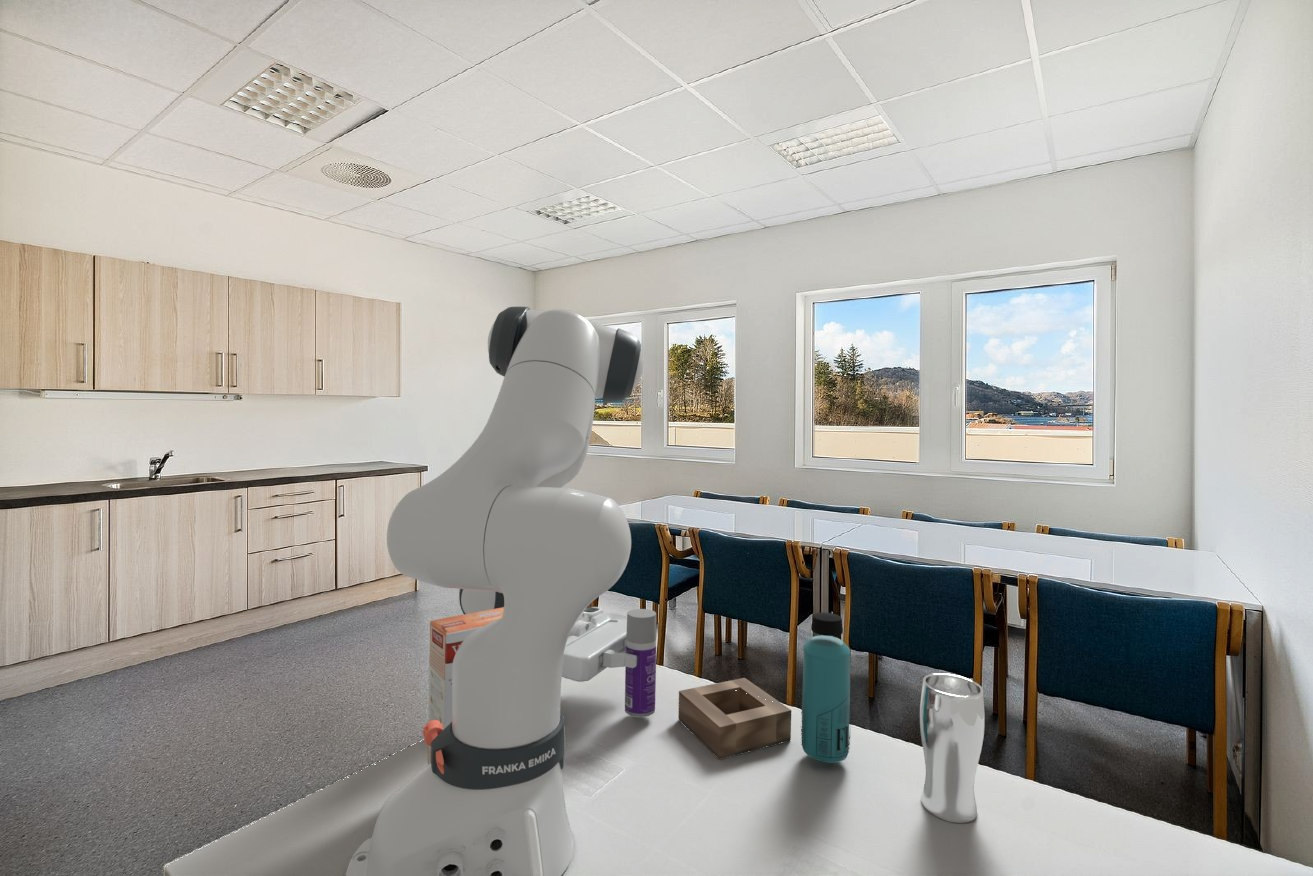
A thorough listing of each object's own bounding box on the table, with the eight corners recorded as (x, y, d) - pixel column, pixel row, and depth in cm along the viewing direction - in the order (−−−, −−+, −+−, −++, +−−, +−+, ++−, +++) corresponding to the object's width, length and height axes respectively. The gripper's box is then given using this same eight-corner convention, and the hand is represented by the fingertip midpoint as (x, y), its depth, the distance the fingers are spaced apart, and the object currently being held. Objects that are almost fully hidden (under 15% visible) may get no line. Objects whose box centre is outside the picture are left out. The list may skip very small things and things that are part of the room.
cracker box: (444, 808, 72) (444, 632, 71) (426, 784, 77) (426, 619, 76) (549, 767, 81) (550, 610, 80) (527, 747, 86) (529, 599, 85)
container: (651, 718, 91) (653, 619, 91) (621, 715, 92) (623, 616, 92) (657, 705, 96) (659, 609, 96) (628, 701, 97) (630, 607, 97)
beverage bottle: (839, 780, 79) (843, 627, 78) (791, 762, 83) (794, 616, 82) (856, 758, 84) (860, 614, 83) (810, 742, 88) (814, 604, 87)
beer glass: (920, 819, 71) (924, 692, 71) (914, 785, 78) (917, 669, 78) (987, 831, 69) (991, 701, 69) (974, 795, 76) (978, 676, 76)
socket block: (719, 759, 83) (720, 727, 83) (678, 719, 94) (678, 691, 94) (790, 741, 88) (791, 710, 88) (744, 705, 99) (744, 677, 99)
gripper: (531, 639, 90) (614, 656, 84) (600, 603, 108) (672, 615, 103) (530, 682, 90) (613, 702, 84) (599, 639, 108) (671, 653, 103)
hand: (646, 654), depth 94 cm, fingers closed on container, 5 cm apart
